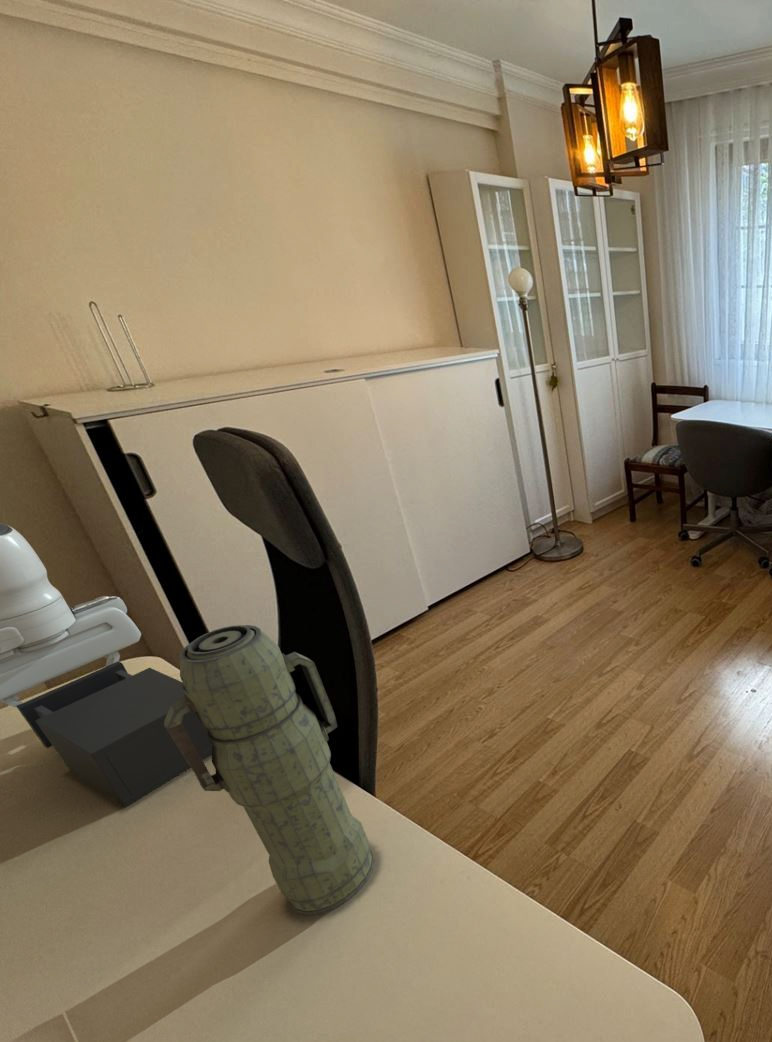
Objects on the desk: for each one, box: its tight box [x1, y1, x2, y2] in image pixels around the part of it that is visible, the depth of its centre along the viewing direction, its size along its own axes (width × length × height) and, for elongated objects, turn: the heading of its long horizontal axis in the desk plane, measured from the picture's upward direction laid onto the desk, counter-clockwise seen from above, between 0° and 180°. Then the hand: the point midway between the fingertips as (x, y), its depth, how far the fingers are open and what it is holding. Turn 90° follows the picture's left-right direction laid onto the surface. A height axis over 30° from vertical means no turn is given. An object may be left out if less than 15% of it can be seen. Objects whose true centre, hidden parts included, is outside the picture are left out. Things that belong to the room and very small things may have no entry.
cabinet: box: [35, 667, 212, 808], centre depth 83 cm, size 16×13×10 cm
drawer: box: [15, 660, 132, 749], centre depth 88 cm, size 19×12×8 cm, turn 67°
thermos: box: [164, 624, 375, 916], centre depth 60 cm, size 9×12×35 cm
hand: (75, 694), depth 90 cm, fingers open, 8 cm apart
